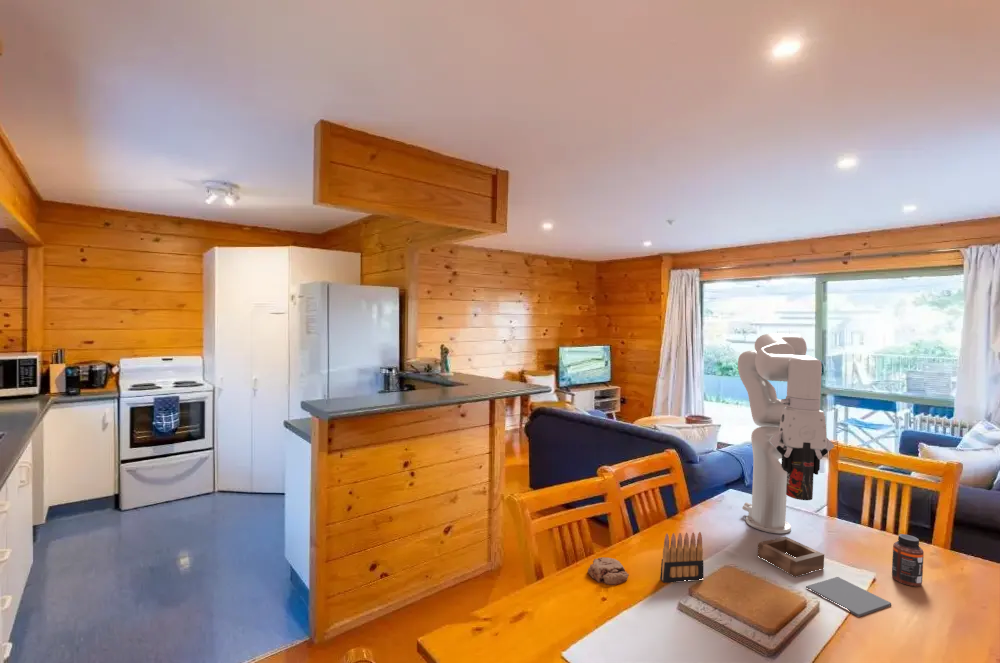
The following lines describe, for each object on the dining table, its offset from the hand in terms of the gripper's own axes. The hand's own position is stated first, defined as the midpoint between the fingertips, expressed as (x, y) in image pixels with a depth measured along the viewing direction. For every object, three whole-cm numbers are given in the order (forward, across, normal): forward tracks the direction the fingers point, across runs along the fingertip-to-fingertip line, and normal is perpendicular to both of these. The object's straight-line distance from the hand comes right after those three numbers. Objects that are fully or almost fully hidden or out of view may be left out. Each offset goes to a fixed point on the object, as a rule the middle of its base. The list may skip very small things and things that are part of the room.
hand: (800, 471), depth 127 cm
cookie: (+26, -50, -12) cm, 58 cm away
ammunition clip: (+26, -32, -12) cm, 43 cm away
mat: (+26, +6, -13) cm, 29 cm away
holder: (+26, -1, +2) cm, 26 cm away
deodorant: (+7, 0, 0) cm, 7 cm away
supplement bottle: (+26, +25, -2) cm, 36 cm away
